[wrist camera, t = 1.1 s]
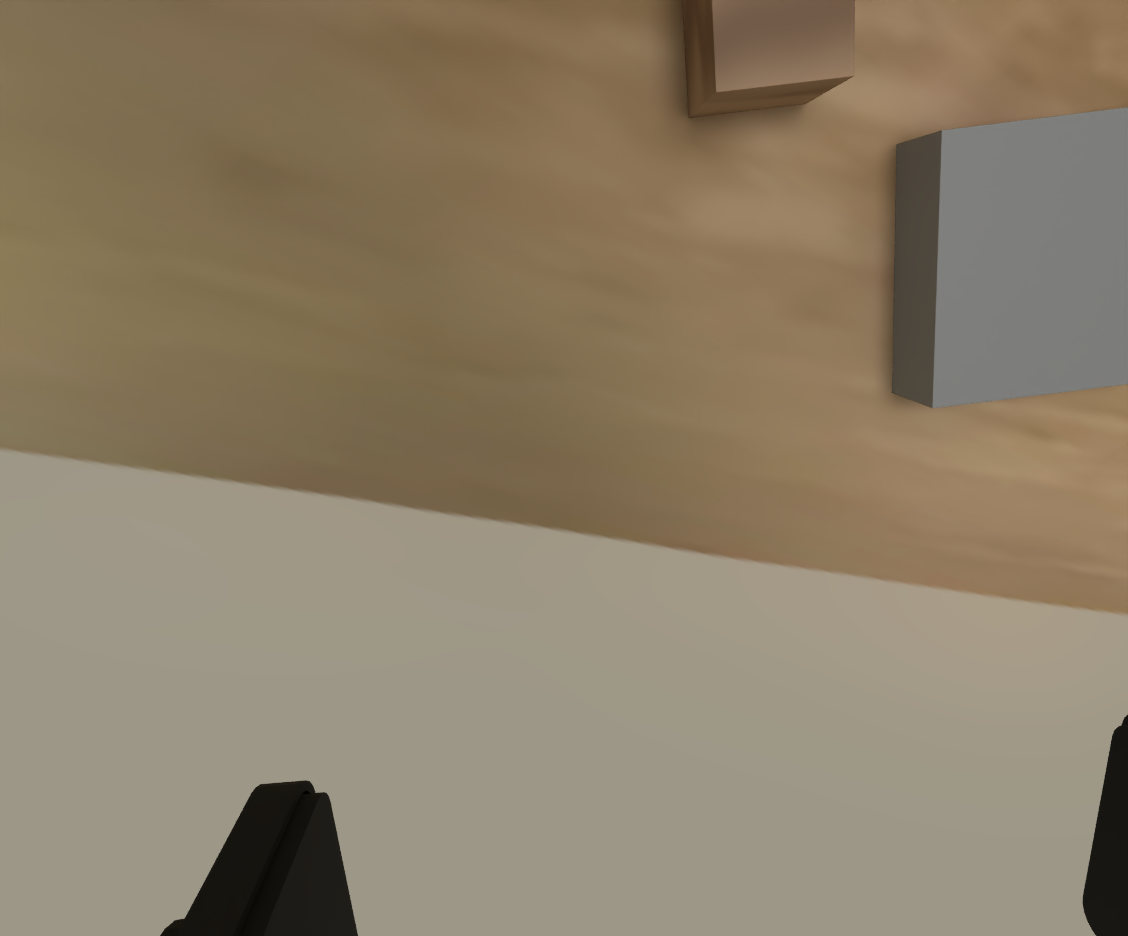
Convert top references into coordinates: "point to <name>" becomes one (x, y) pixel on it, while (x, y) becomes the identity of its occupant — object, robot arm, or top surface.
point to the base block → (1012, 260)
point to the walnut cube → (765, 52)
